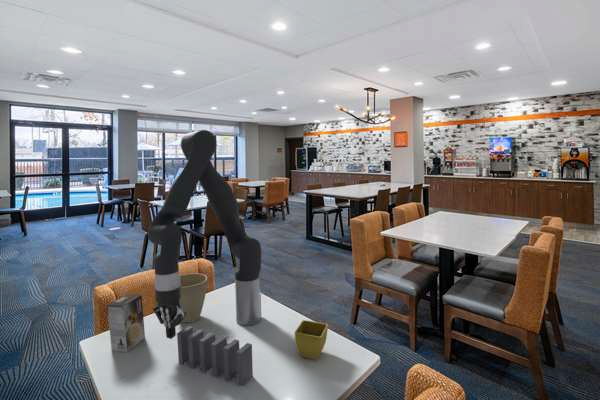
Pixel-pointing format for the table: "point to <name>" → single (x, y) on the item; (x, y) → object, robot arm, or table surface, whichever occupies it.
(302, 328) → the flower pot
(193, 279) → the plant pot
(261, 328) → the table surface
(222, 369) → the domino
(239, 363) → the domino
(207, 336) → the domino
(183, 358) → the domino
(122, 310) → the coffee box
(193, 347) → the domino
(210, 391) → the table surface
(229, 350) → the domino
